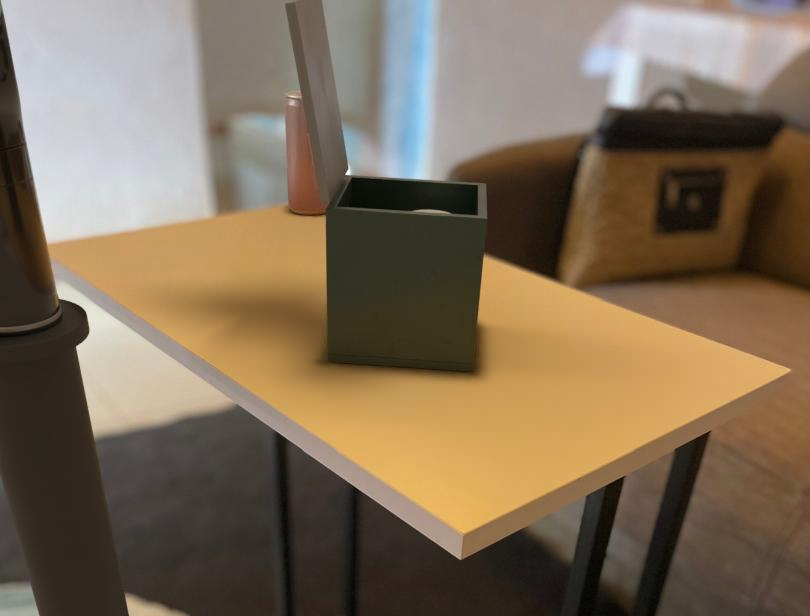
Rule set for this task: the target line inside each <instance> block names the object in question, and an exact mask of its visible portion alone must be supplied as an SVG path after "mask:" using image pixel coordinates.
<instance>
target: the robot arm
mask: <svg viewBox="0 0 810 616" xmlns="http://www.w3.org/2000/svg"><path fill="white" fill-rule="evenodd" d="M15 70H16V69H15V64H14V60H13V53H12V50H11V44H10V38H9V34H8V28H7V22H6V18H5V13H4V9H3V4H2V0H0V337H12V336H22V335H29V334H33V333H37V332H41V331H44V330H47V329H49V328H51V327H53V326H55V325H57V324H58V323H59V322H60V321H61V320H62V318H63V314H62V309H61V305H60V304H59V299H60V297H59V294H58V290H57V286H56V280H55V276H54V271H53V266H52V261H51V255H50V251H49V245H48V240H47V236H46V231H45V227H44V222H43V217H42V212H41V207H40V201H39V196H38V192H37V187H36V182H35V177H34V172H33V171H34V170H33V166H32V161H31V157H30V152H29V147H28V142H27V139H26V132H25V127H24V121H23V113H22V104H21V97H20V91H19V86H18V85H19V84H18V81H17V80H18V79H17V76H16V71H15Z"/></svg>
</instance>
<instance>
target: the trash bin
mask: <svg viewBox="0 0 810 616" xmlns="http://www.w3.org/2000/svg"><path fill="white" fill-rule="evenodd" d="M487 198H488V197H487V183H485V182H484V183H483V182H467V181H451V180H435V179H421V178H419V179H418V178H403V177H389V176H373V175H372V176H371V175H355V174H345V176H344V178H343V179H342V181H341V183H340V185H339V186H338V188H337V190H336V192H335V193H334V195H333V197H332V199H331V200H330V202H329V204H328V205H327V207H326V212H325V274H326V275H325V276H326V279H325V280H326V283H325V284H326V287H325V288H326V353H327V354H326V358H327V359H326V360H327V363H339V364H352V365H353V364H354V365H365V366H366V365H368V366H382V367H395V368H409V369H411V368H412V369H423V370H424V369H426V370H438V371H439V370H440V371H454V372H467V373H471V372H473V371H474V360H475V351H476V350H475V349H476V340H477V330H478V329H477V328H478V321H479V308H480V298H481V289H482V280H483V279H482V278H483V268H484V256H485V248H486V236H487V227H488V201H487V200H488V199H487ZM415 210H439V211H445V212H449V213H451V214H446V213H430V212H414V211H415Z"/></svg>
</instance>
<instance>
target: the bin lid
mask: <svg viewBox="0 0 810 616" xmlns="http://www.w3.org/2000/svg"><path fill="white" fill-rule="evenodd" d="M284 7H285V13H286V19H287V23H288V29H289V35H290V40H291V46H292V52H293V57H294V62H295V68H296V73H297V79H298V84H299V91H301V96H302V102H303V107H304V113H305V118H306V124H307V129H308V135H309V140H310V146H311V151H312V157H313V163H314V168H315V174H316V179H317V185H318V190H319V196H320V201H321V203H324V202H330V200H331V199H332V197H333V195H334V193H335V192H336V190H337V188H338V186H339V185H340V183H341V181H342V179H343V178H344V176H345V175H347V173H348V171H349V162H348V156H347V150H346V148H347V147H346V142H345V136H344V130H343V125H342V124H343V123H342V118H341V112H340V105H339V99H338V93H337V87H336V86H337V85H336V80H335V73H334V67H333V61H332V55H331V49H330V41H329V36H328V28H327V25H326V24H327V23H326V16H325V11H324V5H323V0H291V1H288V2H285V3H284Z"/></svg>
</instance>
